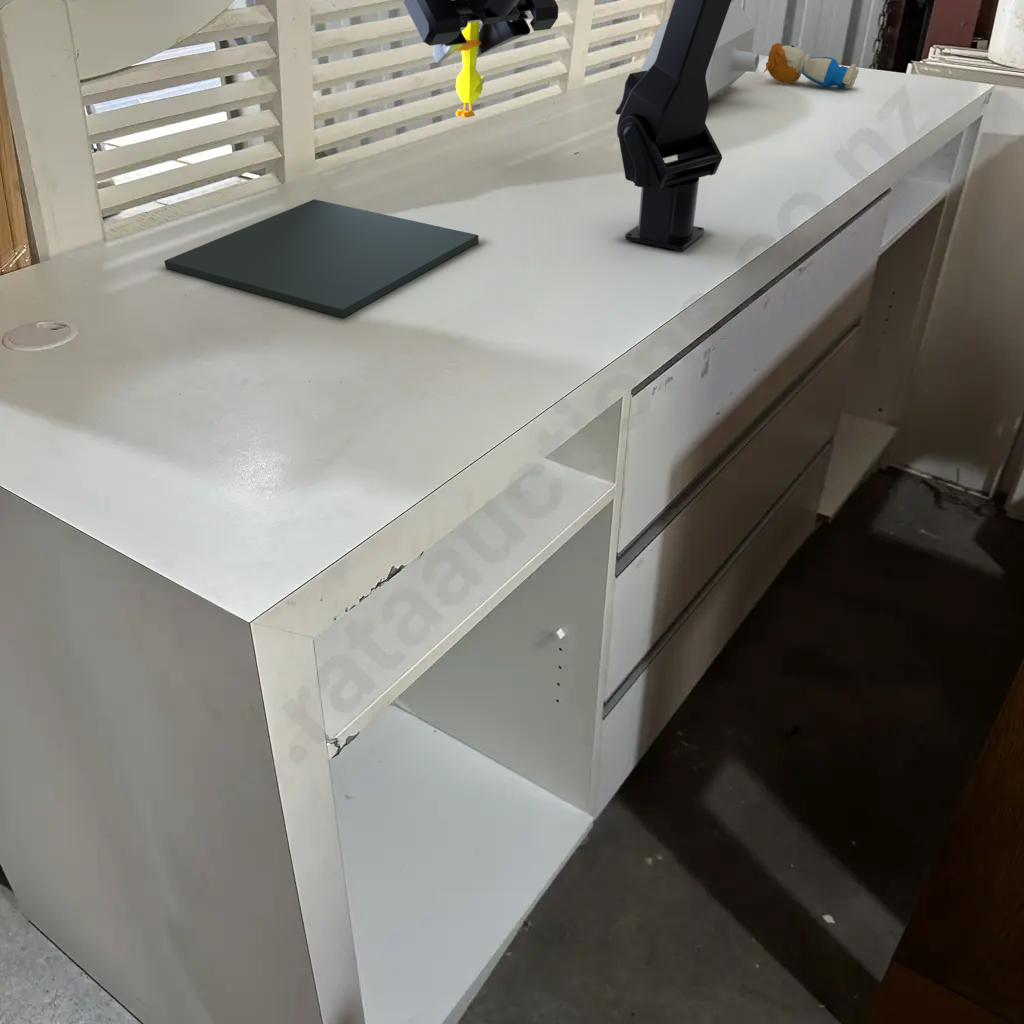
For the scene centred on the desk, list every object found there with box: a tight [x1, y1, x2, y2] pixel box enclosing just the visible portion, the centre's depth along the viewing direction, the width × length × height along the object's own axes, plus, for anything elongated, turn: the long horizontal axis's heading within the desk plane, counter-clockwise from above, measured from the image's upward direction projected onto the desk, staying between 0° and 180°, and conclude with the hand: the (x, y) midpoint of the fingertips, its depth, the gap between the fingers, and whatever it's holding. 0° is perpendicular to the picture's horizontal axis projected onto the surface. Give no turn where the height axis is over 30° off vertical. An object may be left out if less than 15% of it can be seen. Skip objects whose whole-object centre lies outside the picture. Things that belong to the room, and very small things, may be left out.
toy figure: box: [454, 21, 484, 118], centre depth 115 cm, size 7×4×12 cm, turn 139°
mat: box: [164, 198, 480, 319], centre depth 95 cm, size 22×22×1 cm
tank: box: [639, 2, 760, 101], centre depth 147 cm, size 25×16×12 cm, turn 153°
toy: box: [762, 42, 860, 89], centre depth 158 cm, size 12×6×15 cm
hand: (455, 56), depth 116 cm, fingers closed on toy figure, 5 cm apart
